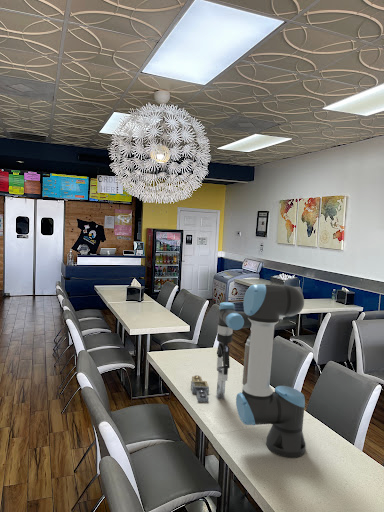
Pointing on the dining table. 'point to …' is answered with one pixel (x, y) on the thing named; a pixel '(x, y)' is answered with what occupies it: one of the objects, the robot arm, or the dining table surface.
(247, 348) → the thermos bottle
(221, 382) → the pin
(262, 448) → the dining table surface
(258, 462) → the dining table surface
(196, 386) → the chain ends
